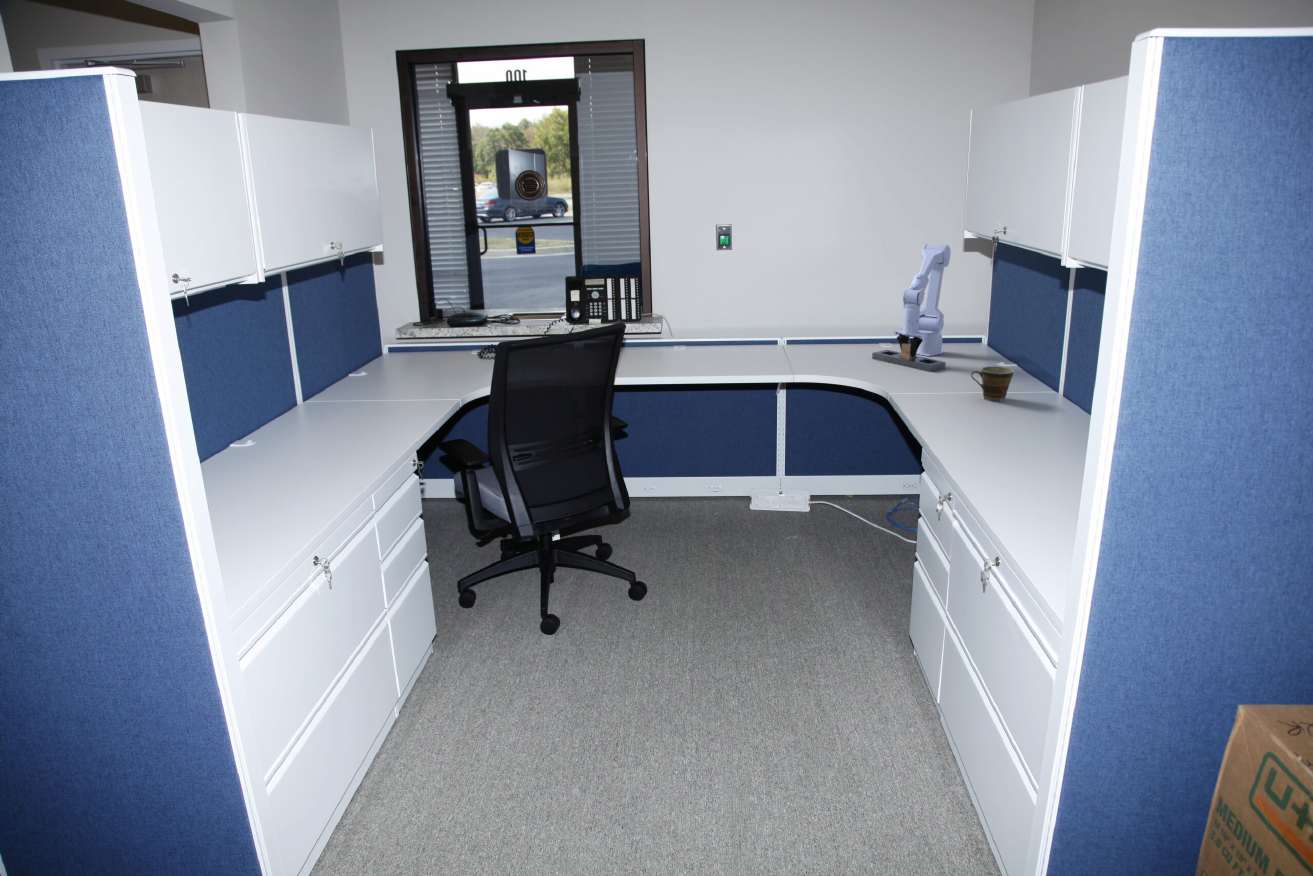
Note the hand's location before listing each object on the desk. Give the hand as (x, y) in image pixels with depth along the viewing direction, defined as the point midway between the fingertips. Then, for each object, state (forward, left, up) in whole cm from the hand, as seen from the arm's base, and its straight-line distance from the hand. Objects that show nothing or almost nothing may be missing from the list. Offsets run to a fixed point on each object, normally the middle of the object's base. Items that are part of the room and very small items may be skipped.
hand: (908, 354), depth 331 cm
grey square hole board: (0, 0, -3) cm, 3 cm away
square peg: (0, 0, -2) cm, 2 cm away
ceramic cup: (+20, +49, -4) cm, 53 cm away
